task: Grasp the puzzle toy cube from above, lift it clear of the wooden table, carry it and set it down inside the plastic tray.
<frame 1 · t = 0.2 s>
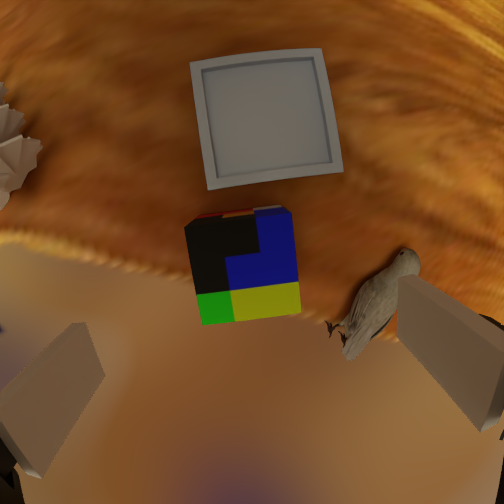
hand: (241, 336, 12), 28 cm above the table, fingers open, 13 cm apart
puzzle toy: (244, 249, 40), on the table
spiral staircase: (3, 141, 35), on the table
decorative bird: (368, 290, 42), on the table
tray: (265, 116, 36), on the table
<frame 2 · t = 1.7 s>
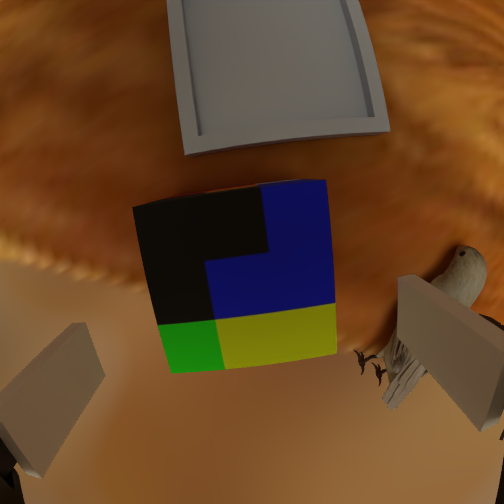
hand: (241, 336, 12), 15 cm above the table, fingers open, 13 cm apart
puzzle toy: (242, 246, 27), on the table
decorative bird: (413, 305, 28), on the table
tray: (273, 53, 23), on the table
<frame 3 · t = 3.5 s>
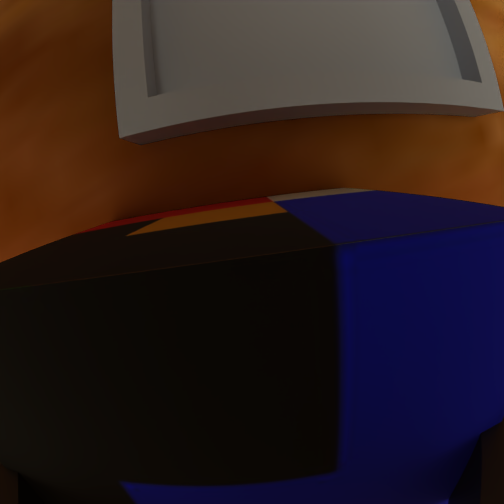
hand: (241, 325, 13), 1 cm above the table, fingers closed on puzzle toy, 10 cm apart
puzzle toy: (242, 315, 14), on the table, touching gripper
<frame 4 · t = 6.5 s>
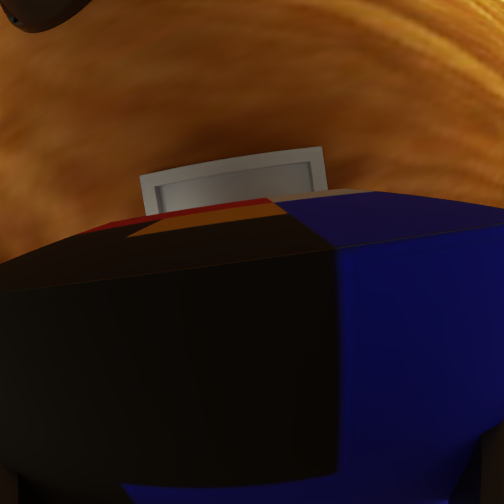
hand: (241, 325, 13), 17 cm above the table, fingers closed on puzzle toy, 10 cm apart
puzzle toy: (242, 316, 14), point 16 cm above the table, touching gripper
tray: (243, 245, 30), on the table
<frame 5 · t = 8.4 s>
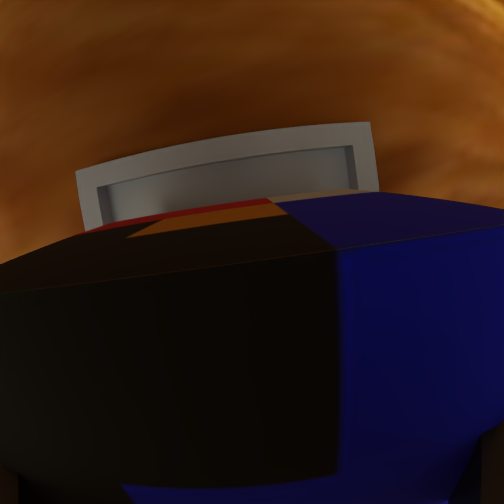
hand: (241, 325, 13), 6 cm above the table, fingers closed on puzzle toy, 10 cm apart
puzzle toy: (242, 316, 14), point 5 cm above the table, touching gripper
tray: (241, 278, 19), on the table
when the fingers open (3 cm above the table, at t = 9.6 s): puzzle toy drops 1 cm, resting on tray.
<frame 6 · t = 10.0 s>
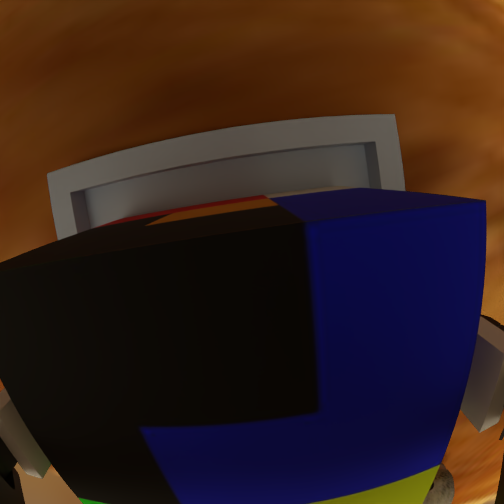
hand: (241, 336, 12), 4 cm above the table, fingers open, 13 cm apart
puzzle toy: (242, 303, 15), point 1 cm above the table, touching tray
decorative bird: (376, 502, 22), on the table
tray: (242, 298, 16), on the table
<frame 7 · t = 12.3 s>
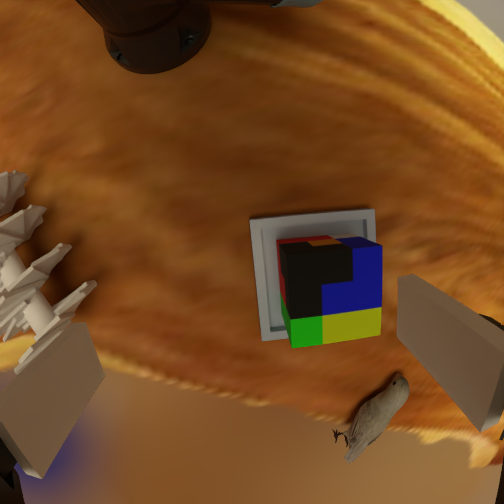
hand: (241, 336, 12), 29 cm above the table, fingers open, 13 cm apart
puzzle toy: (316, 273, 41), point 1 cm above the table, touching tray
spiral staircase: (43, 252, 41), on the table
decorative bird: (367, 404, 47), on the table
tray: (315, 272, 42), on the table
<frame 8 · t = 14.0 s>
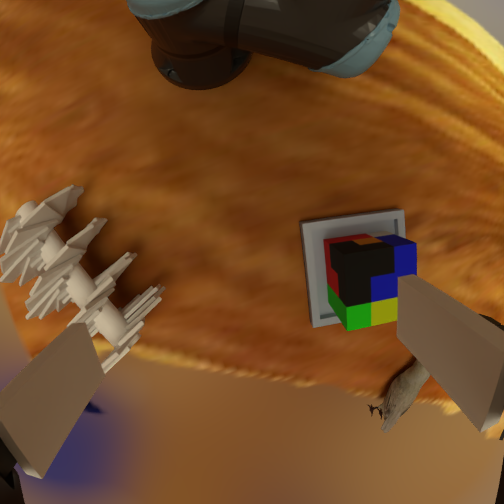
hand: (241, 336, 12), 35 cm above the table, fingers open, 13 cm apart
puzzle toy: (356, 266, 47), point 1 cm above the table, touching tray
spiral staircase: (98, 260, 47), on the table
decorative bird: (396, 380, 53), on the table
tray: (355, 265, 48), on the table
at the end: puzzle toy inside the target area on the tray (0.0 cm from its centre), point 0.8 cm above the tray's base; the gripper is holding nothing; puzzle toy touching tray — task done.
